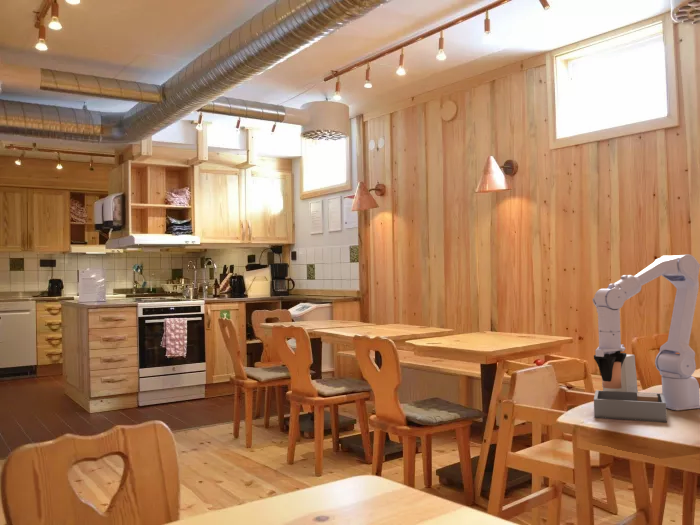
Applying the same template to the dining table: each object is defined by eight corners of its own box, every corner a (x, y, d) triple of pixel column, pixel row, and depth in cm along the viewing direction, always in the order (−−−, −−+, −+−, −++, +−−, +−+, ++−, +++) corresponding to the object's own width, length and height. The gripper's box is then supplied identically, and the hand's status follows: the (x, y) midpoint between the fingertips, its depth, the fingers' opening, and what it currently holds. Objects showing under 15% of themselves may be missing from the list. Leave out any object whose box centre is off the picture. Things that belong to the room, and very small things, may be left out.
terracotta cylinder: (600, 385, 177) (599, 360, 177) (619, 385, 176) (618, 360, 176) (604, 388, 172) (604, 363, 172) (623, 388, 171) (623, 363, 171)
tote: (663, 411, 175) (662, 393, 175) (666, 422, 163) (665, 403, 163) (596, 407, 182) (595, 390, 182) (594, 417, 170) (593, 399, 170)
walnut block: (637, 410, 174) (636, 392, 174) (657, 411, 172) (656, 393, 172) (638, 414, 169) (637, 396, 169) (658, 415, 167) (657, 397, 167)
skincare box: (639, 405, 184) (637, 354, 184) (627, 407, 181) (625, 356, 181) (613, 400, 191) (611, 352, 191) (601, 403, 188) (599, 354, 188)
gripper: (613, 334, 167) (614, 384, 166) (634, 329, 177) (635, 377, 177) (587, 332, 172) (589, 382, 171) (609, 328, 182) (610, 375, 182)
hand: (611, 379), depth 174 cm, fingers closed on terracotta cylinder, 5 cm apart
